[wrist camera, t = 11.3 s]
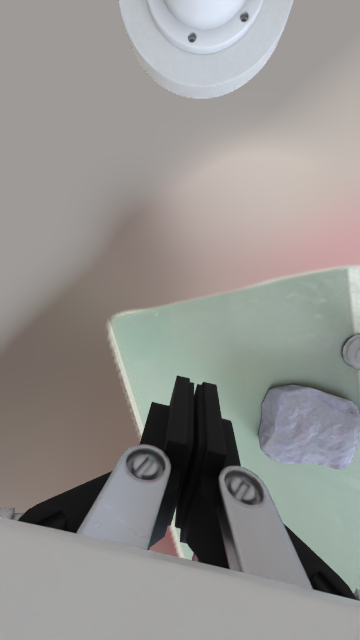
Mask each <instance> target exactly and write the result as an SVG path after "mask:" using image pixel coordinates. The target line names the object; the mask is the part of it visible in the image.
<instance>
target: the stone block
mask: <svg viewBox="0 0 360 640" xmlns="http://www.w3.org/2000/svg"><path fill="white" fill-rule="evenodd" d="M261 415H262V418H261V423H260V430H259V437H258V438H259V443H260V448H261V450H262V451H263V452H264V453H265V455H267V456H268V457H269V458H270V459H272V460H275V461H279V462H281V463H291V464H305V463H317V464H320V465H327V466H329V467H332V468H334V469H338V470H342V469H344V468H346V467H347V466H348V464H349V463H350V461H351V460H352V458H353V455H354V450H355V448H356V445H357V442H358V439H359V436H360V413H359V412H358V407H357V405H356V404H355V403H353V402H352V401H350V400H348V399H344V398H341V397H337V396H334V395H332V394H328V393H325V392H322V391H320V390H317V389H313V388H310V387H302V386H297V385H294V384H291V385H286V386H281V387H275V388H272V389H270V390H269V391H268V393H267V395H266V397H265V399H264V401H263V403H262V414H261Z"/></svg>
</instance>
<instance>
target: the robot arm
mask: <svg viewBox="0 0 360 640" xmlns="http://www.w3.org/2000/svg"><path fill="white" fill-rule="evenodd" d="M146 1H147V5H148V8H149V11H150V15H151V17H152V19H153V21H154V23H155V25H156V27H157V28H158V29H159V31H160V32H161V34H162V35H163V36H164V37H165V38H166V39H167V40H168V41H169V42H170V43H171V44H172V45H174V46H176V47H178V48H179V49H181V50H183V51H186V52H190V53H193V54H210V53H216V52H219V51H221V50H224V49H226V48H228V47H230V46H231V45H233V44H234V43H236V42H237V41H238V40H239V39H240V38H241V37H242V36H244V35H245V34H246V32H247V31H248V30H249V28H250V27H251V26H252V24H253V23H254V22H255V20H256V18H257V16H258V14H259V12H260V10H261V7H262V4H263V1H264V0H146ZM175 509H176V518H175V527H176V528H180V529H181V532H180V542H183V543H187V544H188V546H189V547H190V548H191V550H192V551H193V552H194V554H193V557H192V560H188V559H184V558H179V557H175V556H171V555H166V554H162V553H158V552H154V551H149V549H150V547H151V546H152V545H154V544H155V543H156V542H158V541H159V540H160V539H162V538H163V537H164V536H165V533H166V529H167V526H170V525H171V522H172V519H173V515H174V512H175ZM0 640H360V590H358V589H356V591H355V592H354V593H352V591H351V590H350V588H349V587H348V585H347V584H346V583H345V582H344V581H343V580H342V579H341V578H340V576H339V575H338V574H337V573H335V572H334V571H333V570H332V569H331V568H330V567H329V566H328V565H327V564H326V563H325V562H324V561H323V560H322V559H321V558H320V557H319V556H317V555H316V554H315V553H314V552H313V551H312V550H311V549H310V548H309V547H308V546H307V545H306V544H305V543H304V542H303V541H302V540H301V539H299V538H298V537H297V536H296V535H295V534H294V533H293V532H292V531H291V530H290V529H289V528H288V527H287V526H286V525H285V524H284V523H283V522H282V520H281V518H280V515H279V513H278V511H277V509H276V507H275V504H274V502H273V500H272V498H271V496H270V493H269V491H268V489H267V487H266V486H265V484H264V482H263V481H262V480H261V479H260V478H259V477H258V476H257V475H256V474H254V473H253V472H252V471H250V470H248V469H246V468H244V467H241V465H240V460H239V455H238V450H237V446H236V441H235V436H234V431H233V427H232V423H231V421H230V420H226V419H222V418H221V411H220V405H219V399H218V392H217V386H216V385H214V384H210V383H206V382H203V383H202V385H199V384H197V387H196V391H195V394H194V383H191V382H190V379H189V378H185V377H181V376H177V378H176V381H175V385H174V389H173V393H172V397H171V401H170V405H169V406H167V405H163V404H158V403H154V402H152V404H151V407H150V411H149V414H148V417H147V421H146V424H145V428H144V431H143V434H142V438H141V441H140V444H139V445H135V446H132V447H130V448H129V449H127V450H126V451H125V452H124V453H123V455H122V456H121V458H120V460H119V461H118V463H117V465H116V467H115V468H114V470H113V471H111V472H109V473H107V474H105V475H102V476H100V477H98V478H96V479H93V480H91V481H89V482H86V483H85V484H82V485H80V486H77V487H75V488H73V489H71V490H69V491H66V492H64V493H62V494H59V495H57V496H55V497H53V498H50V499H48V500H46V501H44V502H41V503H39V504H37V505H36V506H34V507H32V508H30V509H29V510H27V511H26V512H25V513H15V508H0Z"/></svg>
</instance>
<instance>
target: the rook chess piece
mask: <svg viewBox="0 0 360 640" xmlns="http://www.w3.org/2000/svg"><path fill="white" fill-rule="evenodd" d="M343 357H344V360H345V361H346V362H347V363H348V364H349V365H351V366H353V367H355V368H357V369H359V370H360V334H359V335H356V336H353V337H352V338H350V339H349V340H348V341H347V342H346V344H345V345H344V348H343Z"/></svg>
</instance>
